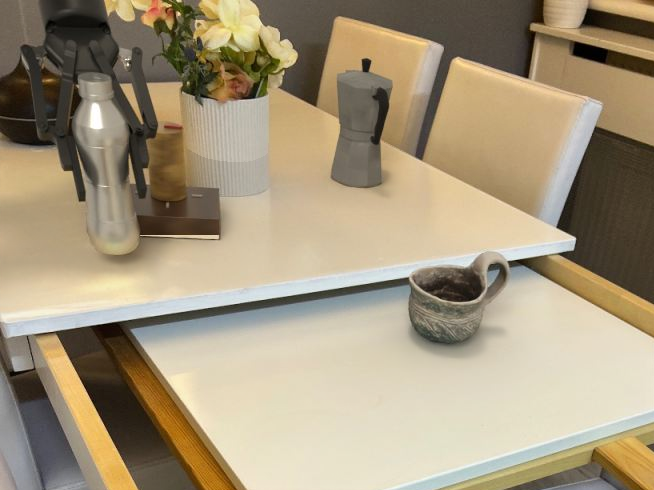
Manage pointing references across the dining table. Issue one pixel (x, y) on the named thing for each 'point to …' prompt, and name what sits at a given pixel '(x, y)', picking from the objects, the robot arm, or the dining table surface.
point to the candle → (167, 163)
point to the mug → (454, 297)
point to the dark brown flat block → (179, 213)
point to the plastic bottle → (105, 166)
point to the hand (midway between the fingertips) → (113, 195)
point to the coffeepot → (360, 126)
